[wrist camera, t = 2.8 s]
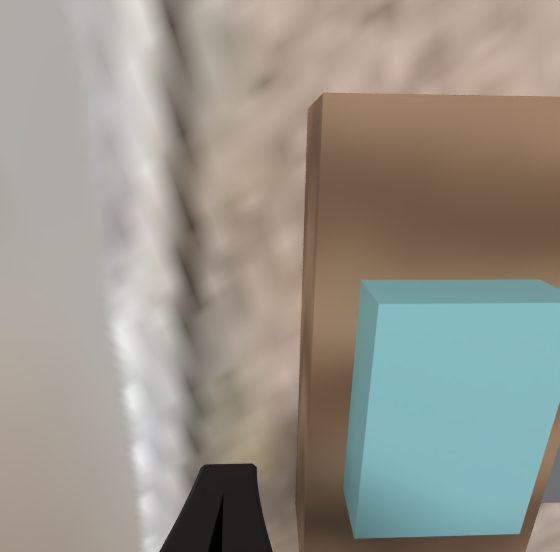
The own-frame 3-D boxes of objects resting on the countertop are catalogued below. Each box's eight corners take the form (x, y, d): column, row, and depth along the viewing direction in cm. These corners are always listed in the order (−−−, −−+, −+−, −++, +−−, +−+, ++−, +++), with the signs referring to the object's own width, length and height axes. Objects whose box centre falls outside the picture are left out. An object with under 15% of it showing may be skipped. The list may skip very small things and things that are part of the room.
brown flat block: (471, 497, 21) (517, 575, 17) (295, 502, 20) (302, 582, 17) (562, 112, 14) (669, 98, 10) (308, 109, 14) (323, 92, 10)
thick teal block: (487, 485, 15) (519, 534, 13) (343, 489, 15) (354, 538, 13) (539, 279, 12) (589, 303, 10) (361, 279, 12) (378, 303, 10)
